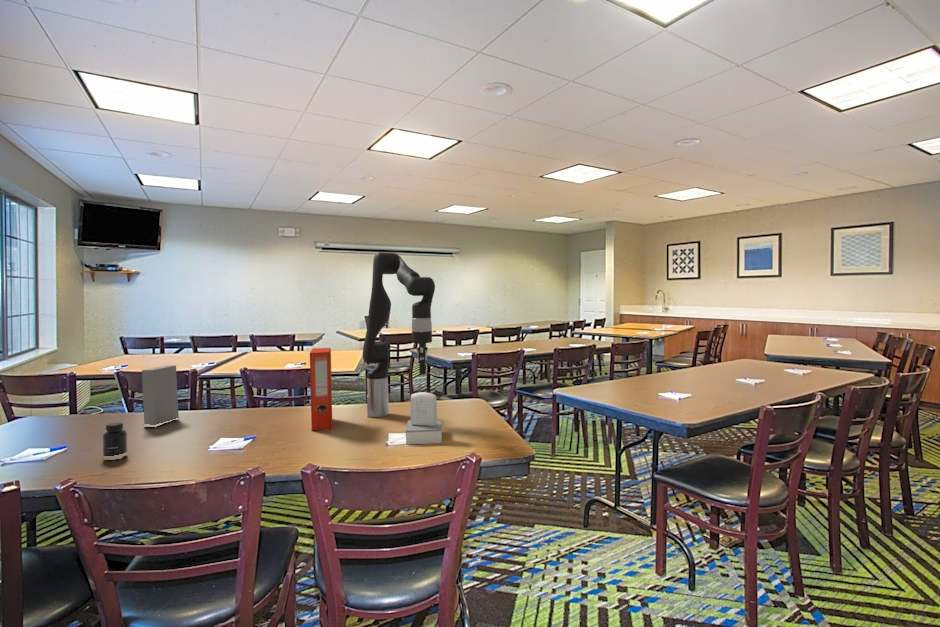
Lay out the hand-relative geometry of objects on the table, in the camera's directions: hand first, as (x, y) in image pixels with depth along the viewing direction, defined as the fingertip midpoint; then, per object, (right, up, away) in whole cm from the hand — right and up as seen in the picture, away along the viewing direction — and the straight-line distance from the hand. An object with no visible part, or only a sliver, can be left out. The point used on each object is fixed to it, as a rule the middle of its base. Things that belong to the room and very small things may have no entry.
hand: (422, 372), depth 183 cm
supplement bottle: (-106, -28, -15) cm, 110 cm away
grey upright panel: (-119, -27, +30) cm, 125 cm away
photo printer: (0, -20, +1) cm, 20 cm away
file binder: (-45, -25, +23) cm, 57 cm away
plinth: (+1, -25, +1) cm, 25 cm away
